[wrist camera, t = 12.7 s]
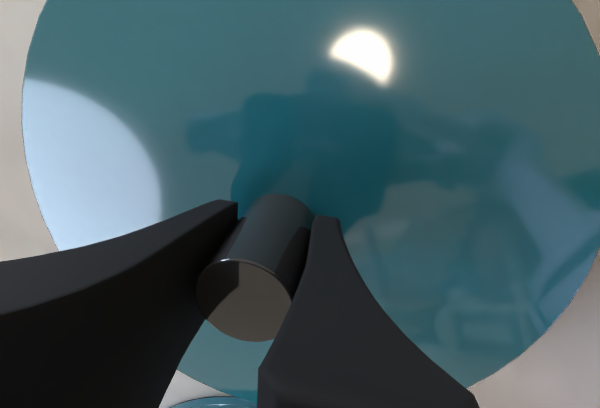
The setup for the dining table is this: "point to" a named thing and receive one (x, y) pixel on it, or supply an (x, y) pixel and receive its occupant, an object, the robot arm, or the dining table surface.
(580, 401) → the dining table surface
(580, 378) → the dining table surface
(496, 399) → the dining table surface
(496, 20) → the lid
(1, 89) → the dining table surface
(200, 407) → the pan
